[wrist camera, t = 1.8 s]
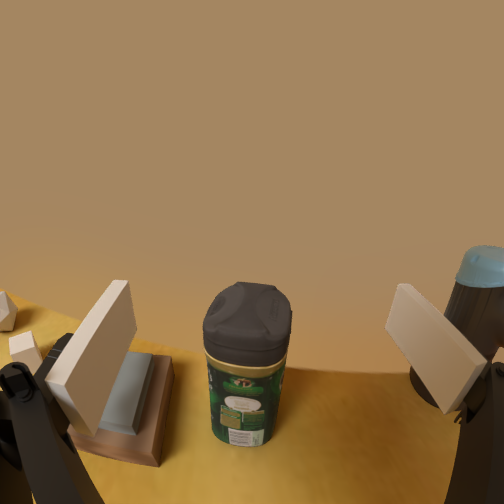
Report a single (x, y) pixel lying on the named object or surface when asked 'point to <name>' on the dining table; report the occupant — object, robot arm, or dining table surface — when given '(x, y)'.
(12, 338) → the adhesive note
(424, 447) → the dining table surface
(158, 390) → the tower stand
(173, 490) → the dining table surface
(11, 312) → the die
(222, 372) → the coffee jar
